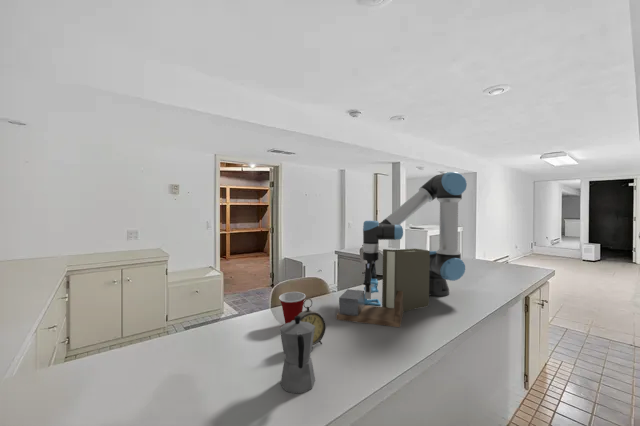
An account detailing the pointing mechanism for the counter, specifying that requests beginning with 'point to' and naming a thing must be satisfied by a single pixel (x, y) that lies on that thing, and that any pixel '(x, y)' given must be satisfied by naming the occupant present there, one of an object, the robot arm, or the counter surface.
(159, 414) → the counter surface
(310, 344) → the coffeepot
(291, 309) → the plastic cup
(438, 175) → the robot arm
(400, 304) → the wooden l-shaped stand
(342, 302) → the gray block
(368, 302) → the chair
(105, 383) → the counter surface
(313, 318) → the alarm clock
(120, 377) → the counter surface
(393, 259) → the book
